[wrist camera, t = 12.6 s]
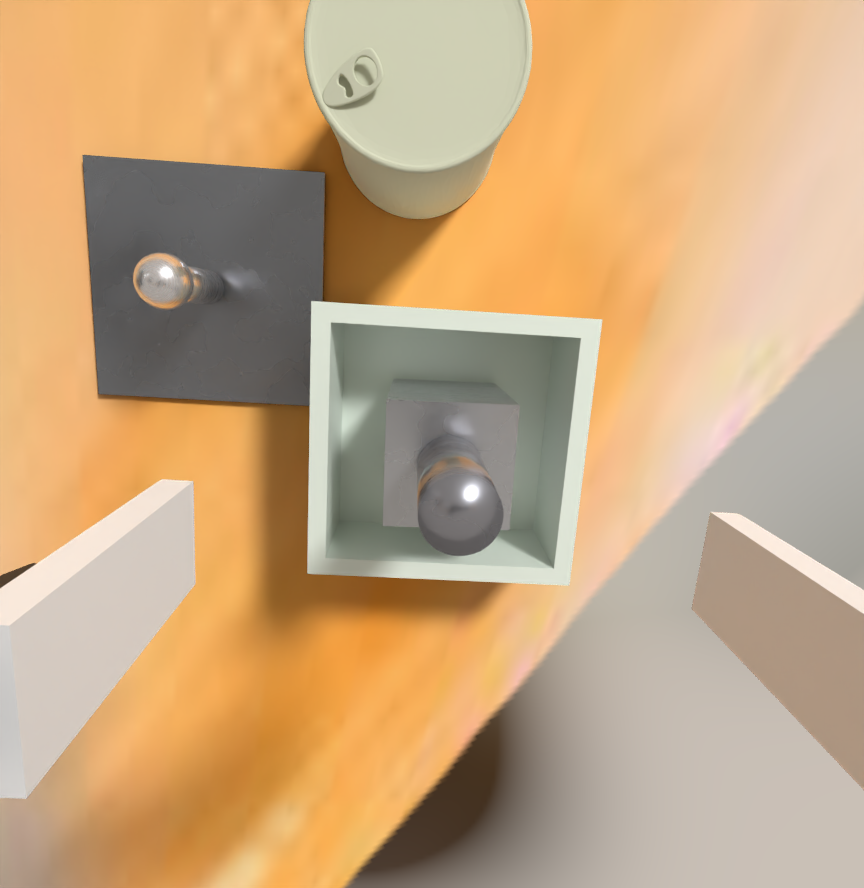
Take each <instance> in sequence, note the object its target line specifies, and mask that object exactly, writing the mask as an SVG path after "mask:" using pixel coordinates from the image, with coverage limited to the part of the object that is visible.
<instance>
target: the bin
mask: <svg viewBox="0 0 864 888" xmlns="http://www.w3.org/2000/svg"><path fill="white" fill-rule="evenodd" d="M601 327H602V320H601V319H586V318H570V317H554V316H539V315H523V314H507V313H492V312H476V311H460V310H445V309H429V308H413V307H397V306H382V305H366V304H350V303H335V302H319V301H311V355H310V422H309V490H308V558H307V574H323V575H345V576H368V577H390V578H412V579H435V580H457V581H480V582H502V583H525V584H547V585H569V584H570V576H571V568H572V560H573V552H574V544H575V536H576V528H577V519H578V511H579V503H580V495H581V487H582V479H583V471H584V463H585V455H586V447H587V439H588V431H589V423H590V415H591V407H592V399H593V391H594V383H595V375H596V367H597V359H598V351H599V343H600V335H601ZM393 379H414V380H437V381H459V382H481V383H495V384H496V385H497V386H498V387H500V388H501V389H502V390H503V391H504V392H505V393H507V394H508V395H509V396H510V397H511V398H512V399H513V400H515V401H516V402H517V403H518V404H519V405H520V409H519V421H518V433H517V445H516V457H515V469H514V481H513V493H512V505H511V517H510V530H500V532H499V534H498V535H497V537H496V538H495V540H494V541H493V542H492V543H491V544H490V545H489V546H487V547H486V548H485V549H483V550H481V551H480V552H477V553H475V554H471V555H466V556H453V555H448V554H445V553H442V552H440V551H438V550H437V549H435V548H434V547H432V546H431V545H430V544H429V543H428V542H427V541H426V540H425V538H424V537H423V535H422V533H421V531H420V528H419V527H398V526H383V495H384V462H385V430H386V399H387V396H388V393H389V390H390V388H391V385H392V382H393Z"/></svg>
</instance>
